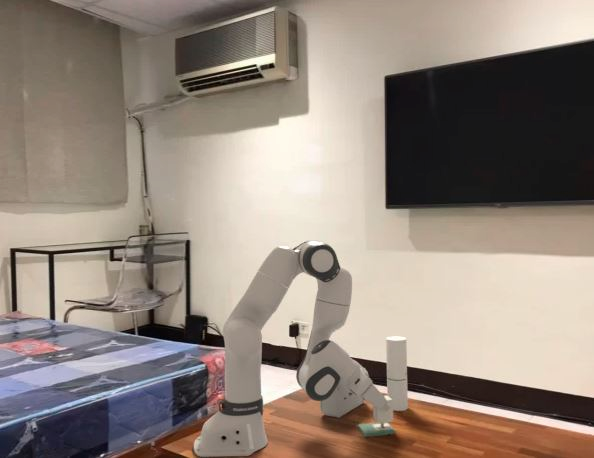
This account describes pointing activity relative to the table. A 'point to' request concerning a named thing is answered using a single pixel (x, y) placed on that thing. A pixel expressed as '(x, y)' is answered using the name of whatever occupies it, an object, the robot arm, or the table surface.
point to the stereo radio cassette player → (340, 402)
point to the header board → (376, 429)
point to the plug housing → (384, 412)
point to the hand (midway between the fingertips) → (384, 406)
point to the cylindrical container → (397, 372)
